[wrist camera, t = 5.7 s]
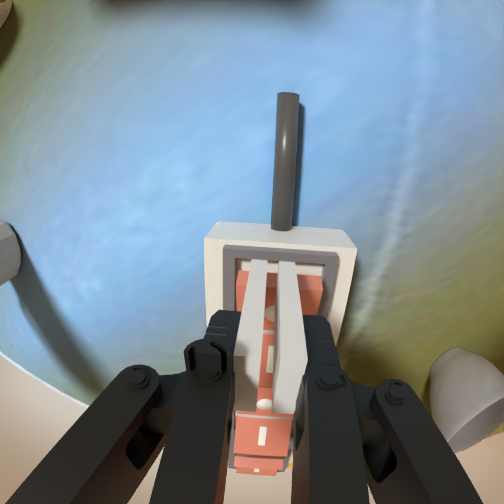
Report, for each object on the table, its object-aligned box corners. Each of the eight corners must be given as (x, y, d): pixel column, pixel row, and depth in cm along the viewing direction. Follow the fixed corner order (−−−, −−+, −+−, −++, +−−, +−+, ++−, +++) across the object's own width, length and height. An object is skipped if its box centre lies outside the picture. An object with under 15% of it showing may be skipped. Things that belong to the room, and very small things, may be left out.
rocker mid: (239, 367, 21) (235, 381, 18) (298, 371, 20) (301, 385, 18) (235, 438, 21) (232, 455, 19) (286, 442, 21) (287, 459, 18)
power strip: (221, 95, 17) (204, 79, 12) (353, 104, 16) (375, 92, 12) (224, 438, 30) (218, 467, 26) (294, 443, 29) (294, 473, 25)
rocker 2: (235, 443, 21) (232, 465, 19) (285, 447, 21) (283, 469, 19) (238, 455, 26) (235, 472, 24) (277, 458, 26) (276, 475, 24)
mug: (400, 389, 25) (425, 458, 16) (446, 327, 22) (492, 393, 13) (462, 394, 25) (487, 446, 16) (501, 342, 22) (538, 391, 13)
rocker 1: (239, 261, 16) (234, 278, 14) (319, 267, 16) (325, 284, 14) (237, 363, 19) (232, 386, 17) (302, 368, 18) (304, 391, 16)
